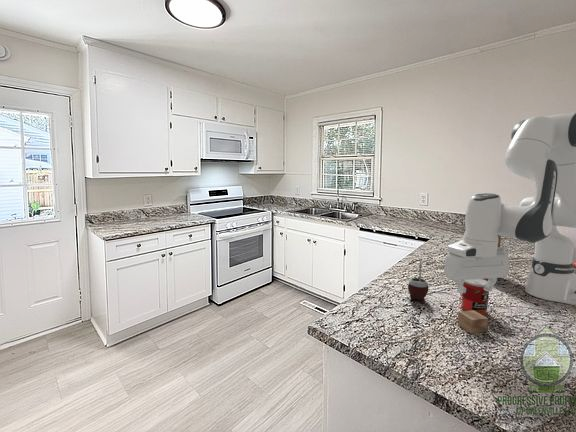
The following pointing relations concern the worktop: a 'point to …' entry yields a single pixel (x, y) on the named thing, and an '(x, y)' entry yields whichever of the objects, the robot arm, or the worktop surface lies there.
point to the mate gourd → (418, 288)
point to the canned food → (475, 296)
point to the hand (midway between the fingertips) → (474, 291)
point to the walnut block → (472, 321)
